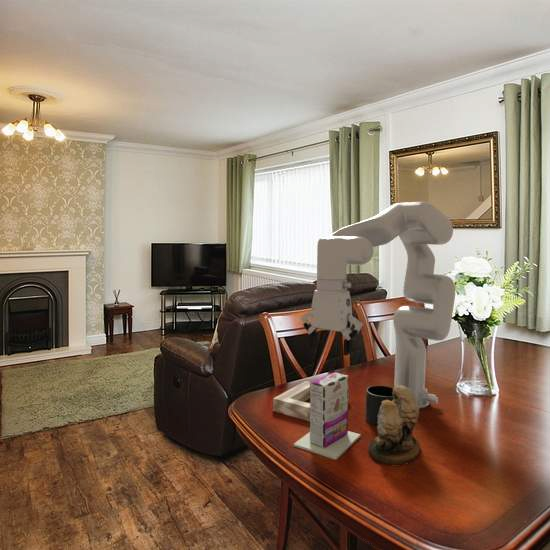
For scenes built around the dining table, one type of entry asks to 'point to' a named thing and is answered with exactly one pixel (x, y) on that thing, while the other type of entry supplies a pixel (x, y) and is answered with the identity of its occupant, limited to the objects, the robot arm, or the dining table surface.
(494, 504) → the dining table surface
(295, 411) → the board
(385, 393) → the mug
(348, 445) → the mat
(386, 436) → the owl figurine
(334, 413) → the candy bar box
